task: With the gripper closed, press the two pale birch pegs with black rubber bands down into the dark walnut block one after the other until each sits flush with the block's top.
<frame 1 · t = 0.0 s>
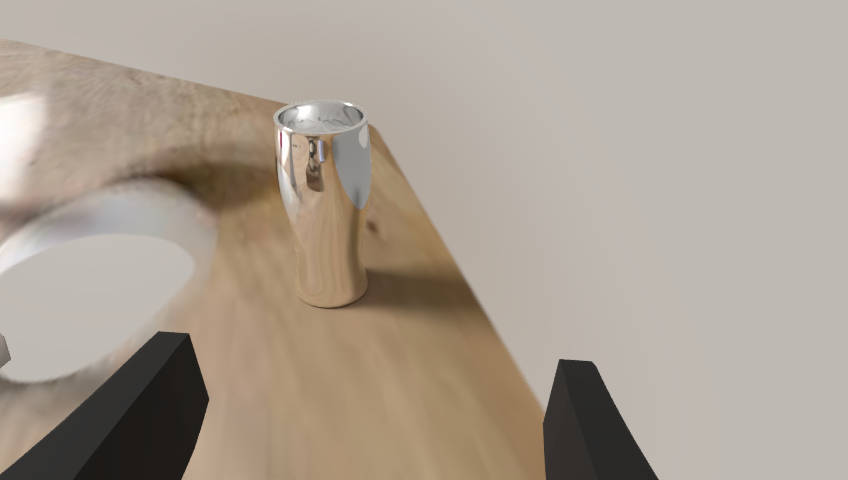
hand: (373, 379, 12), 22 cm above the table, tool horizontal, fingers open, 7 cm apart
beer glass: (331, 287, 50), on the table
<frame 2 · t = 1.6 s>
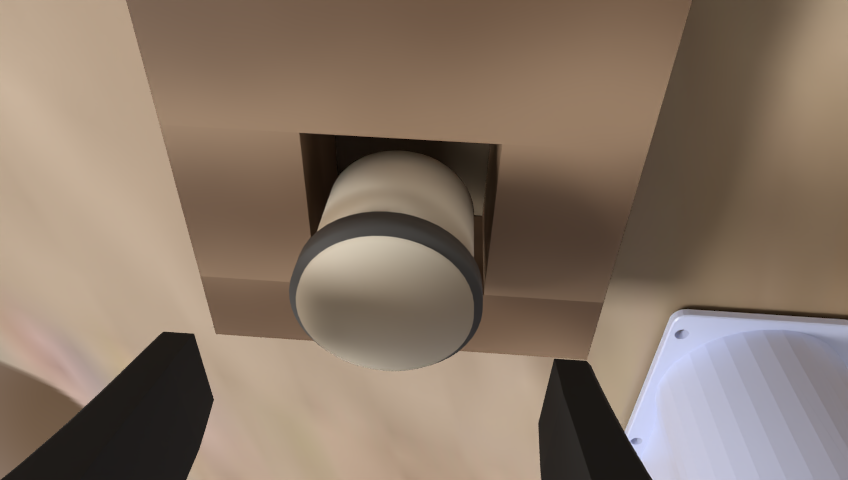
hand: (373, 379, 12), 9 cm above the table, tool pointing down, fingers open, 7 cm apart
birch peg inner: (393, 258, 15), point 6 cm above the table, slide at 3.5 cm
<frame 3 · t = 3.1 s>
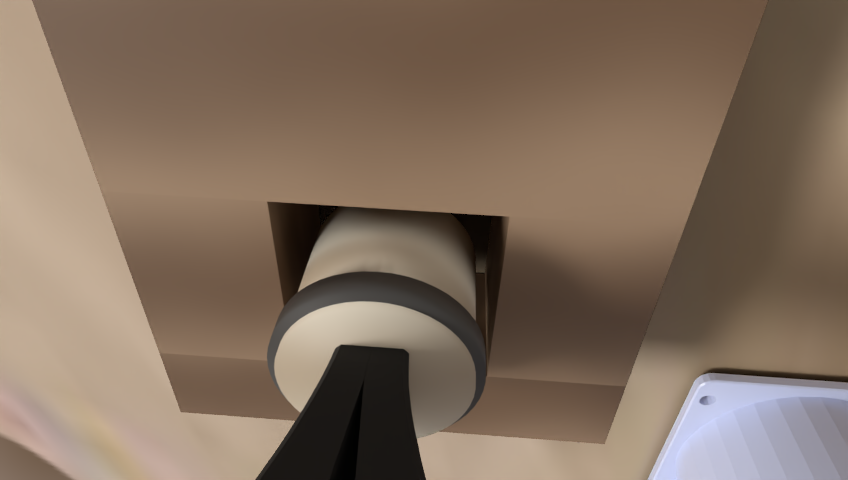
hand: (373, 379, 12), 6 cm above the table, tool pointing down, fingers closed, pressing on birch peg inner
birch peg inner: (385, 314, 13), point 5 cm above the table, slide at 2.4 cm, touching gripper
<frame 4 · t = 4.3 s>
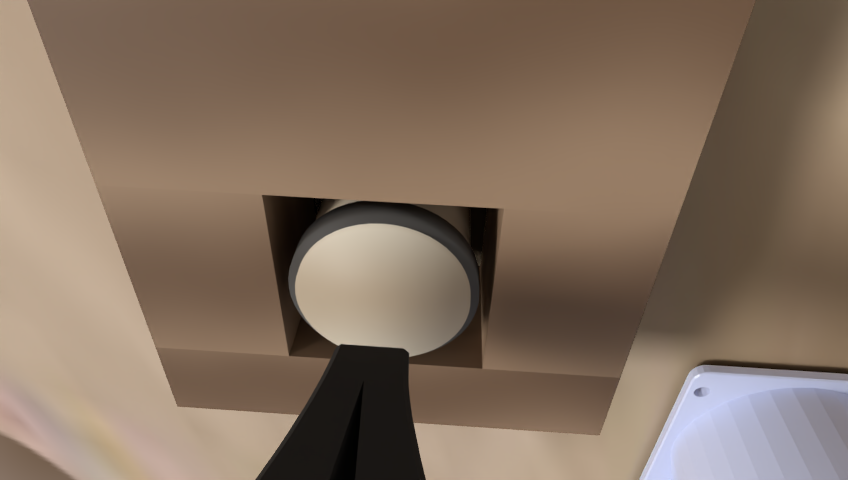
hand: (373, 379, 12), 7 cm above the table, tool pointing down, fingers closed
birch peg inner: (391, 247, 15), point 2 cm above the table, slide at 0.3 cm
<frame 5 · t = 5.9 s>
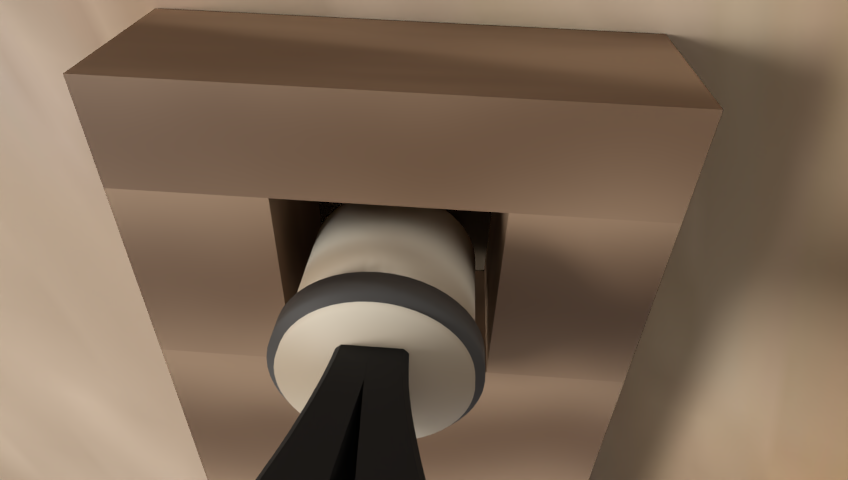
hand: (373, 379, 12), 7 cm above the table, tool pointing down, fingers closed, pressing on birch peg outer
walnut block: (403, 342, 21), on the table
birch peg outer: (385, 314, 13), point 5 cm above the table, slide at 2.5 cm, touching gripper
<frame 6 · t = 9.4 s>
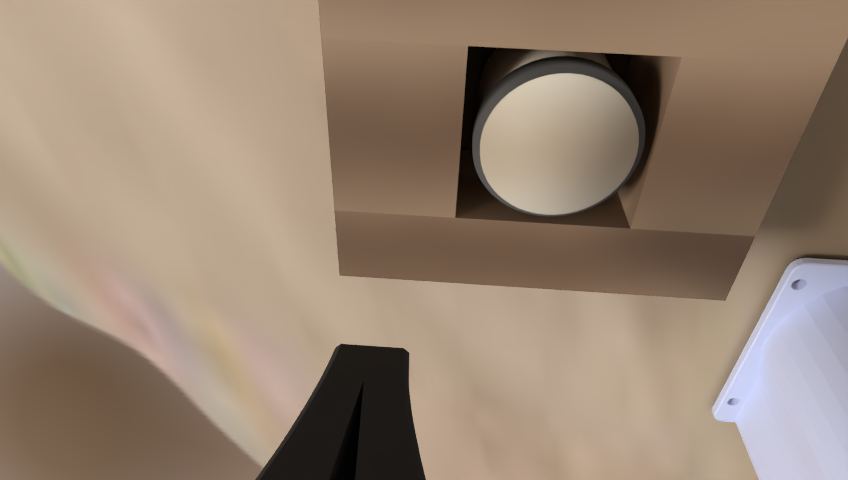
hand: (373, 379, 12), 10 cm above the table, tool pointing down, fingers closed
birch peg inner: (550, 118, 17), point 2 cm above the table, slide at 0.3 cm
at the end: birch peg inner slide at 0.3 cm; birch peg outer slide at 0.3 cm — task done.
